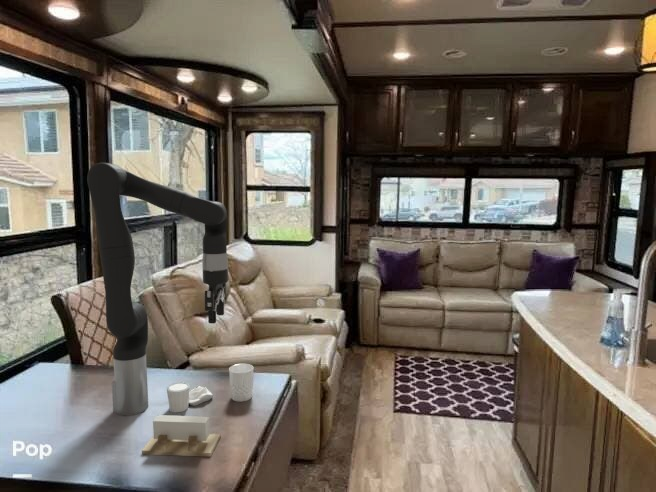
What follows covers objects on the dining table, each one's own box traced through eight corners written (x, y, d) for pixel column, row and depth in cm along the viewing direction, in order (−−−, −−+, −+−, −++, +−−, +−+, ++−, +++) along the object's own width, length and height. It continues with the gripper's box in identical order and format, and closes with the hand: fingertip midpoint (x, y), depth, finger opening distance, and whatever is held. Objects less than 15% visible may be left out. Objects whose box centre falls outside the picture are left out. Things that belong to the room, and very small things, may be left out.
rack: (142, 454, 117) (141, 437, 116) (156, 435, 126) (156, 419, 125) (210, 456, 116) (210, 440, 115) (220, 437, 125) (220, 422, 124)
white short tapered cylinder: (195, 404, 144) (194, 383, 143) (181, 415, 137) (180, 393, 136) (177, 401, 146) (176, 380, 145) (162, 411, 139) (161, 389, 139)
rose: (208, 394, 142) (177, 394, 142) (209, 407, 143) (178, 407, 142) (215, 380, 152) (186, 380, 152) (216, 393, 153) (187, 393, 152)
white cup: (231, 392, 153) (230, 363, 152) (254, 391, 153) (254, 363, 152) (228, 403, 145) (227, 373, 144) (252, 402, 146) (252, 372, 144)
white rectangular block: (153, 438, 119) (152, 421, 119) (158, 432, 123) (158, 415, 122) (206, 440, 119) (205, 422, 118) (209, 434, 122) (209, 416, 121)
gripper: (210, 263, 145) (211, 312, 147) (195, 271, 131) (196, 325, 133) (233, 263, 145) (234, 313, 147) (220, 271, 131) (222, 326, 133)
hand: (216, 319), depth 140 cm, fingers open, 8 cm apart
